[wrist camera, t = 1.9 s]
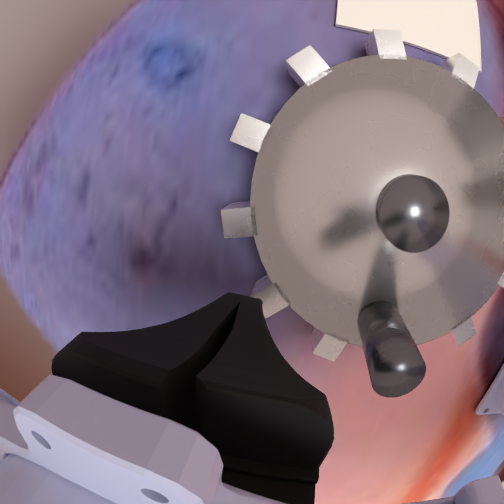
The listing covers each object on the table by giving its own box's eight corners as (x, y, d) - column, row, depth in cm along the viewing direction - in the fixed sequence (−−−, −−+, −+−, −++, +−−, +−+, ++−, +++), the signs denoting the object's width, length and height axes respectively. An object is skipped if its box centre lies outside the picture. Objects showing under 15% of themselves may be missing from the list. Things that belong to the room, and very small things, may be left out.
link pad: (474, 2, 9) (476, 1, 9) (478, 72, 11) (481, 71, 10) (340, -42, 10) (341, -45, 10) (335, 26, 11) (335, 24, 11)
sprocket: (528, 106, 10) (599, 99, 4) (465, 355, 15) (504, 420, 9) (258, 22, 12) (230, -45, 6) (217, 317, 16) (178, 391, 11)
